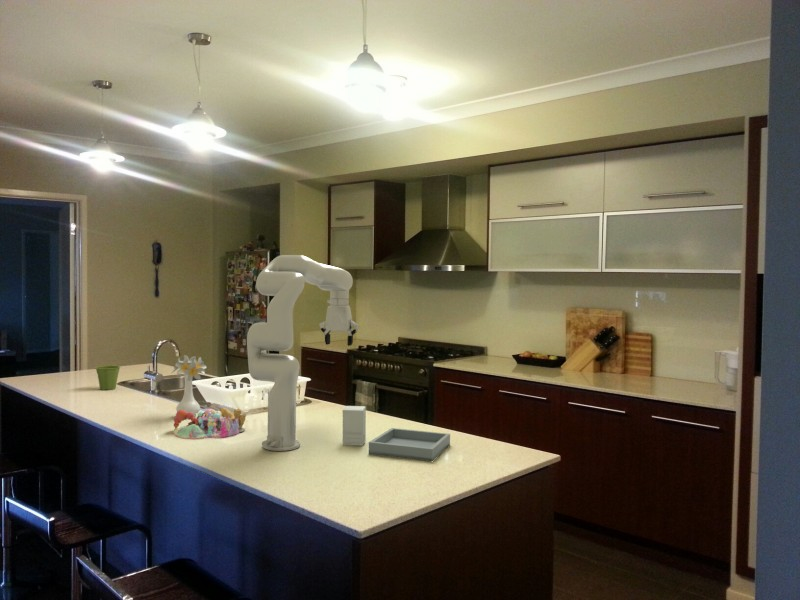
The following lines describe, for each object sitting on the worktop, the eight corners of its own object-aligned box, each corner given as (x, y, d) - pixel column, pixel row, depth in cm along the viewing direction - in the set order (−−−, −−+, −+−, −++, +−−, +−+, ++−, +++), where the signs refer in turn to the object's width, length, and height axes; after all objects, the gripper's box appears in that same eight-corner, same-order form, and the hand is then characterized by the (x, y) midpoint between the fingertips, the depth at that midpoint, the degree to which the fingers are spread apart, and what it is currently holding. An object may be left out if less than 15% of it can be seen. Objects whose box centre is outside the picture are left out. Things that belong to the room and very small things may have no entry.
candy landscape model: (220, 422, 251) (220, 399, 251) (256, 431, 237) (257, 407, 236) (162, 433, 232) (162, 408, 232) (198, 444, 217) (198, 418, 217)
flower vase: (183, 422, 248) (184, 359, 247) (165, 414, 261) (165, 355, 261) (214, 418, 256) (215, 357, 255) (195, 410, 270) (196, 353, 269)
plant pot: (125, 387, 324) (125, 365, 323) (111, 391, 312) (111, 369, 311) (104, 386, 325) (104, 365, 325) (89, 390, 313) (89, 368, 313)
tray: (432, 461, 200) (432, 449, 200) (368, 454, 208) (368, 442, 208) (449, 445, 221) (450, 433, 221) (391, 438, 228) (391, 427, 228)
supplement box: (366, 441, 225) (366, 406, 224) (362, 446, 217) (363, 410, 217) (345, 440, 225) (346, 405, 225) (341, 445, 218) (342, 409, 218)
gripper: (316, 302, 255) (315, 344, 255) (355, 303, 249) (355, 346, 250) (323, 302, 262) (323, 343, 262) (362, 303, 256) (361, 345, 257)
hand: (338, 344), depth 256 cm, fingers open, 9 cm apart
